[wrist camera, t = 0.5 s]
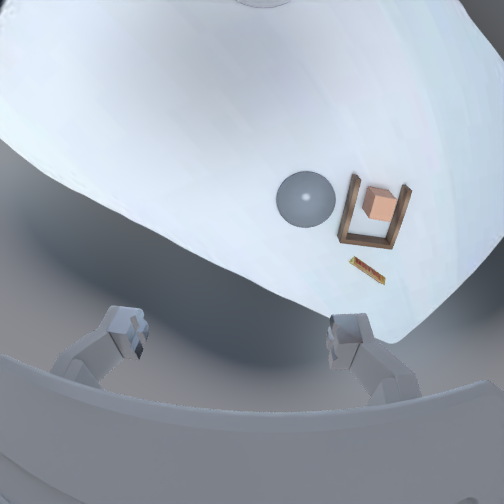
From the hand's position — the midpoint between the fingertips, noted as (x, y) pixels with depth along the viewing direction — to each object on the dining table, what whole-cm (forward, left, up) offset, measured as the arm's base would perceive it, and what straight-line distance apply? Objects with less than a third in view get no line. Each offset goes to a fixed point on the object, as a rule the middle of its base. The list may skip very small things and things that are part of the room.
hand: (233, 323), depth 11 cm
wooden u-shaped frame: (+13, +25, -45) cm, 53 cm away
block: (+10, +25, -45) cm, 53 cm away
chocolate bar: (+28, +29, -46) cm, 61 cm away
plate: (+12, +10, -45) cm, 48 cm away
